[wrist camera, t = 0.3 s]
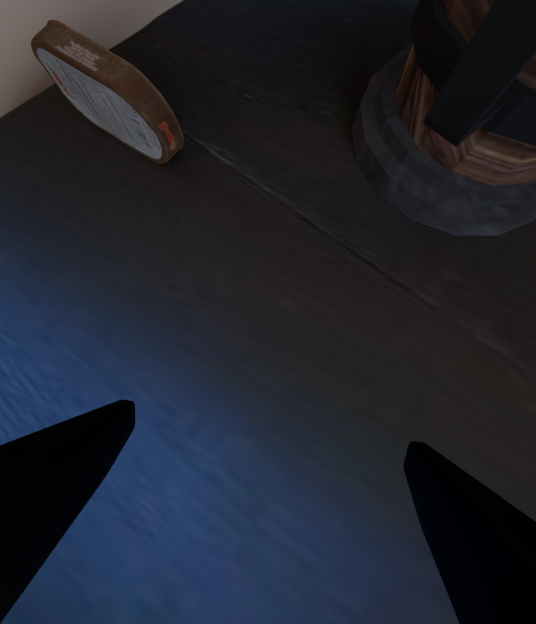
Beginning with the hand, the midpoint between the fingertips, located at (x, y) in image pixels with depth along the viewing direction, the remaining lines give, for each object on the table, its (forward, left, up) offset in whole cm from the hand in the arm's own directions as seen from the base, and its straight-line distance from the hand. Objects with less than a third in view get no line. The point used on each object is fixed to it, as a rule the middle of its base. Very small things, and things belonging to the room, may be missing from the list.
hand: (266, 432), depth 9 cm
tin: (+30, +9, -15) cm, 35 cm away
